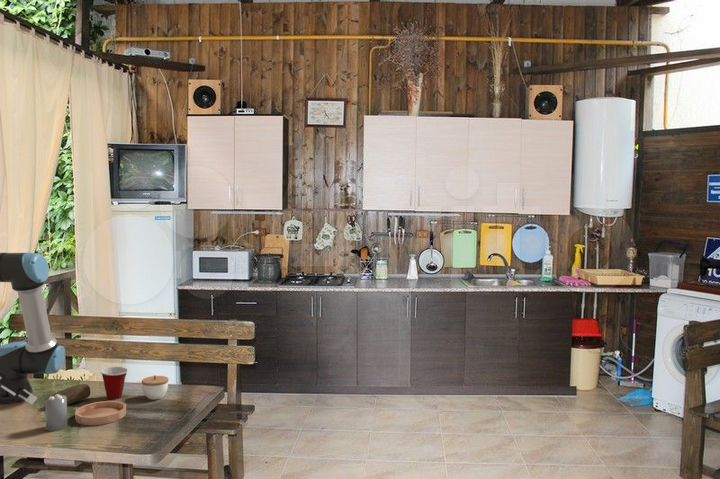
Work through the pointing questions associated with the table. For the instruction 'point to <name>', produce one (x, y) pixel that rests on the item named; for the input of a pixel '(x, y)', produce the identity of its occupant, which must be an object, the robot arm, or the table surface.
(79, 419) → the terracotta bowl
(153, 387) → the lidded jar
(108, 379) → the plastic cup
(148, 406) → the table surface
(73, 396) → the stone weight
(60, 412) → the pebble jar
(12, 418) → the table surface
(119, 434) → the table surface
